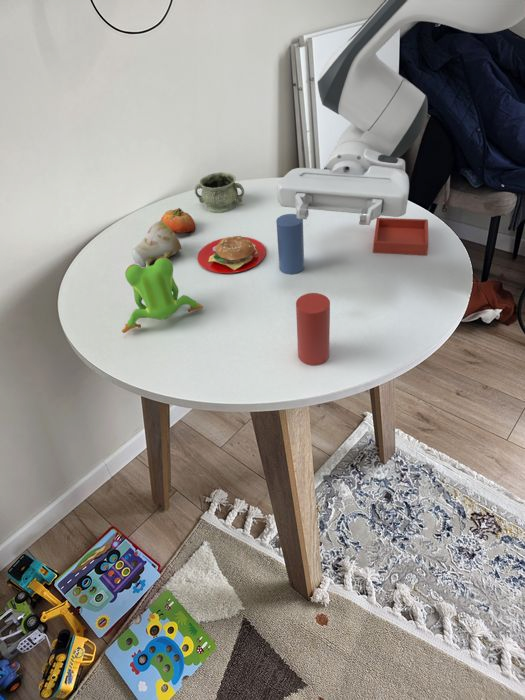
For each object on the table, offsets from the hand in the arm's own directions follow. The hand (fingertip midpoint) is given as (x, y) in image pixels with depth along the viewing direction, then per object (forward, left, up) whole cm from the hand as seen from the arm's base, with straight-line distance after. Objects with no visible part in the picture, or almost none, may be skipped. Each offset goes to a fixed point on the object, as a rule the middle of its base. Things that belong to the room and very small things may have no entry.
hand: (332, 217), depth 71 cm
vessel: (+31, -38, -18) cm, 52 cm away
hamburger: (+22, -16, -18) cm, 33 cm away
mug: (+37, -13, -18) cm, 43 cm away
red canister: (+1, +11, -17) cm, 21 cm away
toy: (+29, +5, -18) cm, 35 cm away
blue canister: (+9, -13, -17) cm, 24 cm away
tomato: (+37, -25, -18) cm, 48 cm away
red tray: (-11, -25, -17) cm, 32 cm away
